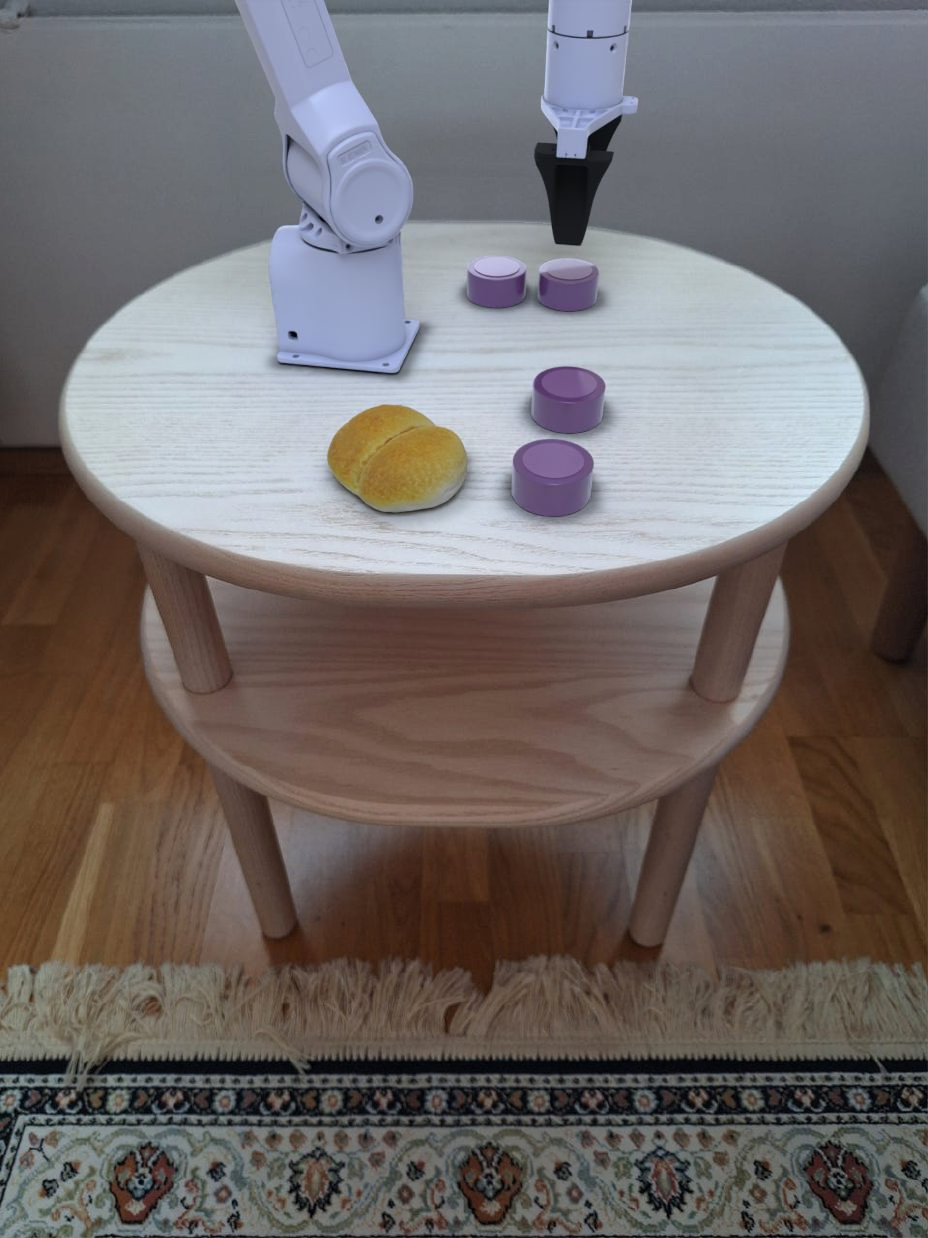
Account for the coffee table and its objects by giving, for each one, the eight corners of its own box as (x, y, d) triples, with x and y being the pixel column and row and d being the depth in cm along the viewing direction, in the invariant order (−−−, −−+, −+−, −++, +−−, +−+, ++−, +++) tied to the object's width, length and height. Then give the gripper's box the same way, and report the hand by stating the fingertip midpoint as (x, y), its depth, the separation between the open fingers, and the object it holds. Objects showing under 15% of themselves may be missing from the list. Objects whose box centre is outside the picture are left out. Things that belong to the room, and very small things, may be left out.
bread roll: (399, 535, 57) (395, 480, 54) (310, 472, 62) (303, 419, 59) (497, 480, 61) (498, 426, 58) (407, 425, 66) (404, 373, 63)
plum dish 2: (526, 429, 65) (528, 397, 64) (536, 392, 69) (537, 361, 67) (599, 436, 65) (602, 404, 63) (605, 399, 68) (608, 368, 67)
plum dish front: (505, 511, 59) (506, 478, 57) (517, 466, 62) (518, 433, 60) (586, 520, 58) (590, 487, 56) (593, 474, 61) (597, 441, 60)
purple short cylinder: (461, 305, 79) (461, 276, 78) (472, 280, 83) (472, 252, 81) (521, 310, 79) (522, 281, 77) (529, 284, 82) (530, 256, 80)
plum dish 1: (533, 308, 79) (535, 279, 77) (541, 283, 82) (543, 254, 81) (594, 313, 78) (596, 284, 76) (599, 287, 82) (601, 259, 80)
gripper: (639, 57, 61) (617, 265, 70) (650, 8, 71) (629, 194, 81) (530, 52, 62) (522, 258, 71) (556, 4, 72) (546, 189, 82)
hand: (573, 224), depth 76 cm, fingers open, 7 cm apart
